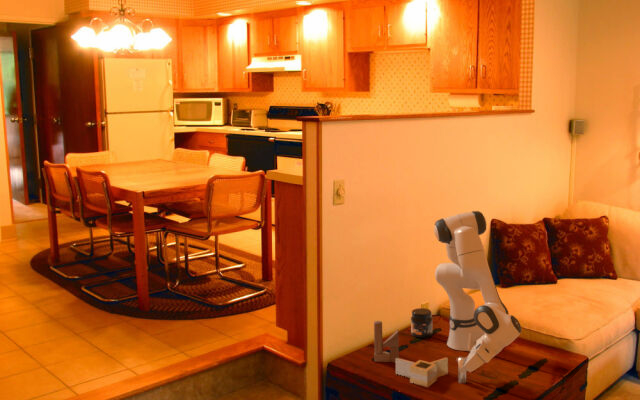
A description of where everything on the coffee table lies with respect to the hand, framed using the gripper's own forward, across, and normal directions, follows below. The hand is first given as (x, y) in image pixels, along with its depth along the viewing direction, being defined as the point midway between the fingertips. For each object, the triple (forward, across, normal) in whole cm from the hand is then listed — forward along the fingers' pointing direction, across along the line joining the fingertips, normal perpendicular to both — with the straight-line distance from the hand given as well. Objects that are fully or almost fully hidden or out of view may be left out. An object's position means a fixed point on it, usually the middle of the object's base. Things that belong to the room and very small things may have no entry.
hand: (462, 366), depth 254 cm
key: (+7, -17, +3) cm, 19 cm away
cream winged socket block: (+17, 0, -8) cm, 19 cm away
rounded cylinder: (+5, 0, +4) cm, 7 cm away
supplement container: (+25, -45, -15) cm, 54 cm away
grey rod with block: (+30, -10, -20) cm, 37 cm away
